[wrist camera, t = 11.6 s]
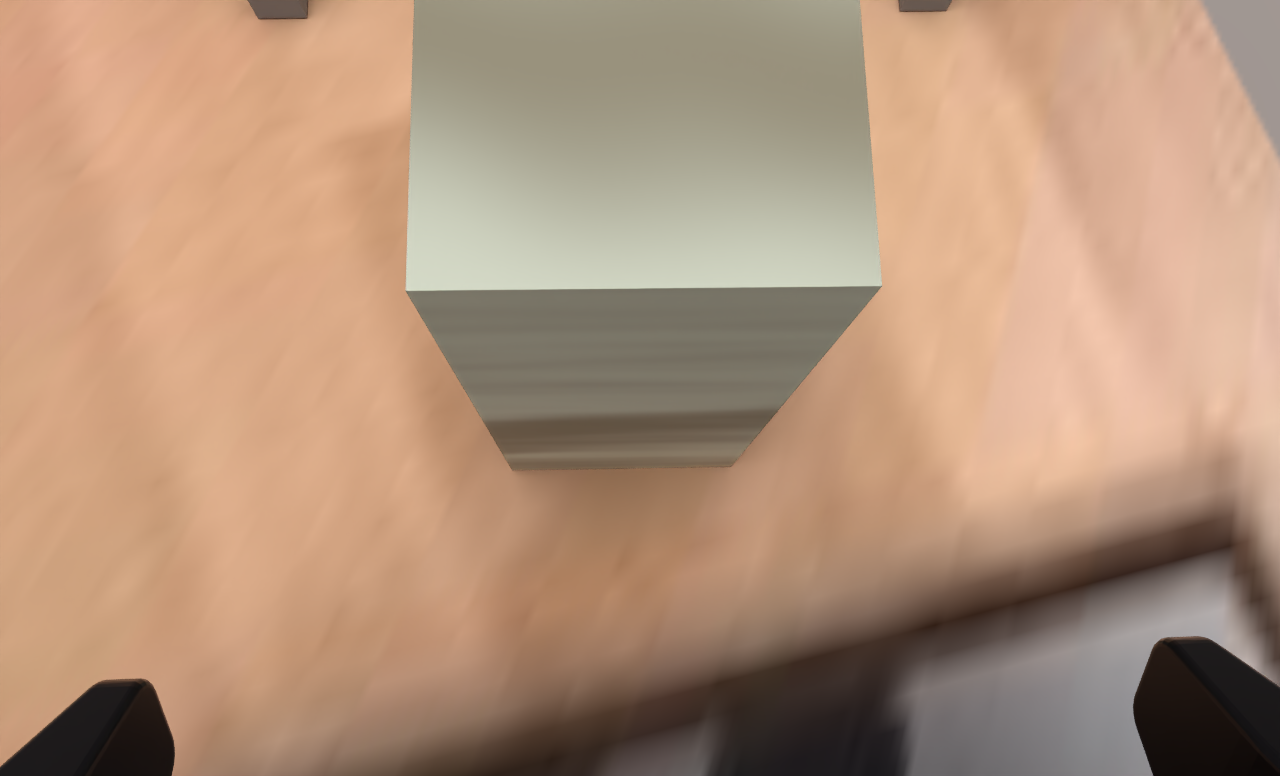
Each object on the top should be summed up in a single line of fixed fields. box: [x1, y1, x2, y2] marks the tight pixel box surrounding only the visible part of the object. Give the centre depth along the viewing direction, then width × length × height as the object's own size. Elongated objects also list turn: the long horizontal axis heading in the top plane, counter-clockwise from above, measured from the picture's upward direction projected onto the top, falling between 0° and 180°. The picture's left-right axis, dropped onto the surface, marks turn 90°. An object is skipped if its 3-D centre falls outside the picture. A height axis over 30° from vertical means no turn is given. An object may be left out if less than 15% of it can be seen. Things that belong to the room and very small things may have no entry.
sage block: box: [406, 0, 882, 470], centre depth 18 cm, size 5×5×13 cm
